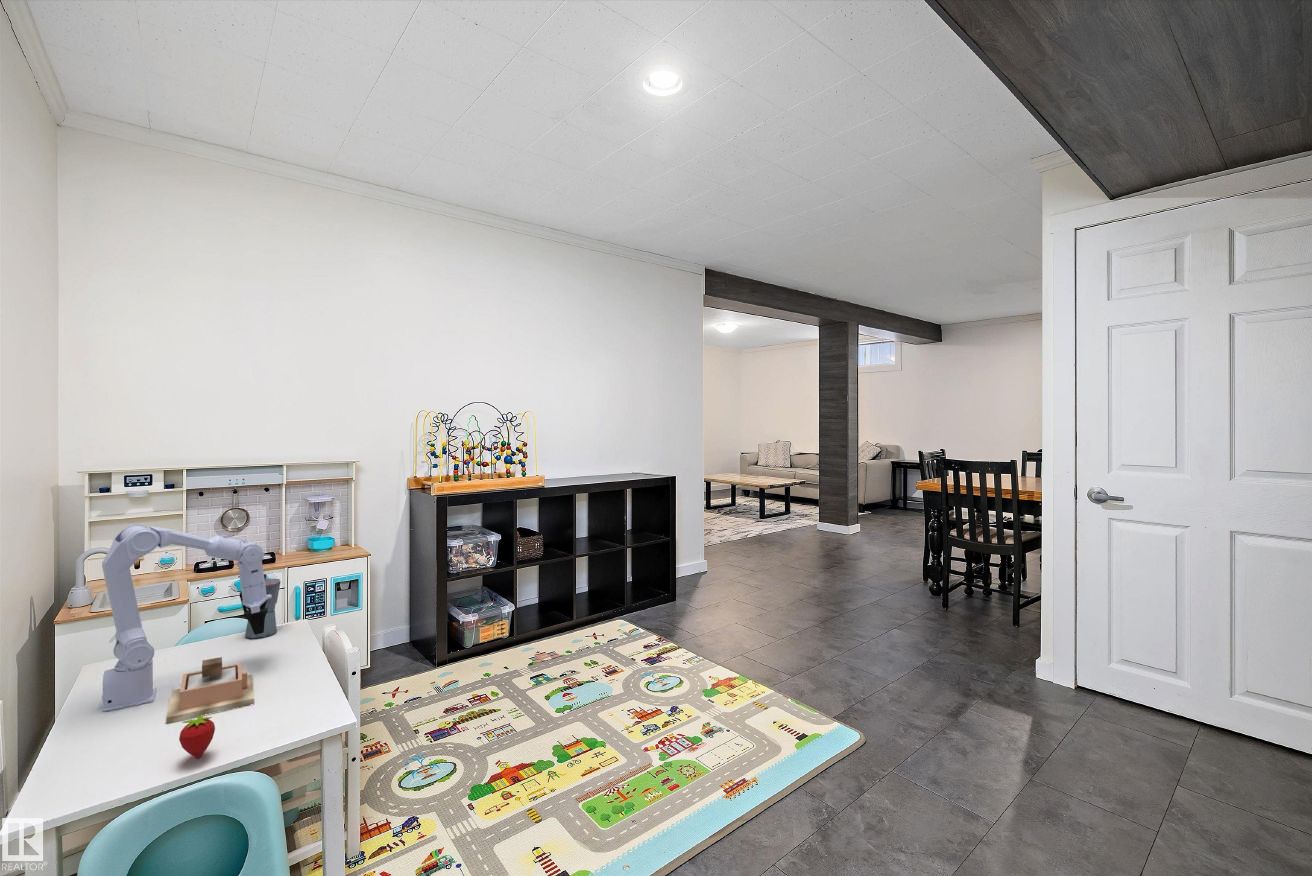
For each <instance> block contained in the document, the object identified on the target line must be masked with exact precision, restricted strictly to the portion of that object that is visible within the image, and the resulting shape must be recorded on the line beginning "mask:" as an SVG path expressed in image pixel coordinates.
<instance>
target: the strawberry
mask: <svg viewBox="0 0 1312 876" xmlns="http://www.w3.org/2000/svg"><path fill="white" fill-rule="evenodd" d="M194 713H195V712H194ZM195 714H197V713H195ZM197 715H198V714H197ZM196 718H197V719H187V720H182V721H181V723H183V724H185V723H186V725H185V726H184V727H183V728H182V730H181V731H180V733H179V738H178V740H179V743H180V746H181V748H182V749H183V750H184V751H186V753H188V754H189V755H191V756H193V757H194V759H201V757H202V756H203V755H204V754H205V752H206V750H207V749H208V747H209V746H210V744H211V742H212V740H213V738H214V735H215V731H216V725H215V723H214V721H213V720H211V719H212V718H213V716H210V717H207V716H206V717H205V715H202V716H200V717H196ZM187 723H188V724H187Z"/></svg>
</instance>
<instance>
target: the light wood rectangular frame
mask: <svg viewBox="0 0 1312 876" xmlns="http://www.w3.org/2000/svg"><path fill="white" fill-rule="evenodd" d="M253 681H254V680H253V675H252V674H247V687H243V688H242V697H241V698H236V699H231V700H227V701H222V702H218V703H213V704H209V705H204V706H199V707H195V708H190V709H186V710H181V711H180V689H181V688H178V689H171V693H170V698H169V703H168V707H167V712H166V717H165V718H166V719H165V720H166V723H165V724H166V725H169V724H172V723H178V722H183V721H187V720H190V719H189V718H191V719H195V718H198V716H201V715H204V716H206V715H205V714H209V713H213V712H217V713H219V712H218V711H222V712H224V711H223V710H226V711H228V710H227V709H231V710H234V709H233V708H235V709H238V708H237V707H239V708H243V707H242V706H244V707H247V706H252V705H251V704H253V705H255V693H254V683H253ZM194 712H195V713H197V714H198V715H197V714H195V713H194ZM213 714H214V713H213ZM209 715H210V714H209ZM194 717H195V718H194ZM176 721H177V722H176Z"/></svg>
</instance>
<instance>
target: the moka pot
mask: <svg viewBox="0 0 1312 876" xmlns="http://www.w3.org/2000/svg"><path fill="white" fill-rule="evenodd" d="M267 576H268V575H267V574H265V573H264V580H265V587H266V595H270V594H271V595H272V598H270V599H267V603H266V606H265V608H268V611H267V614H266V616H265V622H264V632H263V633H261V634H257V635H255V634H254V632H253V630H252V627H251V625H250V623H249V621H248V620H247V624H246V629H245V632H244V637H245V638H249V639H256V638H257V639H259V638H266V637H270V636H273V635H275V634H277V630H278V629H277V622H276V621H277V620H276V610H275V609H276V605H277V603H278V597H279V592H280V586H281V579H280V578H267ZM239 599H240V602H241V606H242V611H243V613H244V612H247V611H249V610H248V609H247V608H246V607H245V605H243V604H242V601H243V598H242V591H240V592H239Z"/></svg>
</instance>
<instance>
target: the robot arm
mask: <svg viewBox="0 0 1312 876" xmlns="http://www.w3.org/2000/svg"><path fill="white" fill-rule="evenodd" d="M170 545H171V546H172V545H175V546H180V547H187V548H192V549H196V550H197V549H198V550H203V551H204V552H205V555H206V556H207V557H211V558H216V559H221V560H227V561H233V562H234V561H236V562H237V564H238V565H237V566H238V576H239V581H240V589H241V591H242V598H243V601H242V603H241V605H242V604H243V605H245V607H246V608H247V610H249V611H247V612H244V611H243V615H244V617H245V618H246V620H247V622H248V621H249V623H250V625H251V627H252V630H253V632H254V634H255V635H257V634H261V633H263V632H264V622H265V616H266V614H267V611H268V608H265V606H266V603H267V599H270V598H272V595H271V594H270V595H266V587H265V580H264V574H265V573H264V572H265V571H264V567H263V566H264V565H263V559H264V557H265V551H263V548H262V547H261V546H260V545H258V544H257V543H256V544H255V543H253V542H249V541H248V540H246V539H240V540H239V539H234V538H231V537H229V536H228V535H227V534H221V535H214V536H211V537H209V538H207V537H203V536H200V535H194V534H191V533H188V532H183V531H179V530H177V529H172V528H167V527H158V526H152V525H151V526H149V525H148V527H147V526H145V525H143V524H131V525H128V526H126V527H125V528H123V529H122V530H121V531H120V532H118V534H116V535H115V536H114V537H113V540H112V544H111V545H110V547H109V549H108V551H107V553H106V554H105V557H104V558H103V561H102V562H101V563H102V565H101V567H102V573H103V576H104V581H105V585H106V590H107V594H108V599H109V603H110V604H109V605H110V608H111V613H112V618H113V623H114V627H115V635H114V636H115V644H114V647H113V650H112V652H113V655H114V657H115V658H116V659H118V661H116V664H115V665H114V668H111V669H106V670H104V671H103V676H102V696H101V697H102V698H101V699H102V710H101V711H102V712H108V711H113V710H119V709H123V708H128V707H133V706H137V705H142V704H146V703H152V702H154V700H155V696H156V693H157V688H155V687H154V676H153V675H154V672H153V671H154V668H153V666H154V663H153V662H154V661H153V658H154V657H155V648H154V647H153V646H152V645H151V644H150V643H149V641H148V639H147V636H146V633H145V630H144V628H143V626H142V621H141V617H140V611H139V606H138V601H137V598H136V597H137V596H136V592H135V587H134V582H133V579H132V578H133V577H132V573H131V567H132V566H133V565H134V564H135V563H137V562H138V560H140V558H142V557H144V556H146V555H148V554H149V553H151V552H153V551H154V550H156V548H157V547H158V548H160V549H163V548H165V547H167V546H170ZM241 591H240V592H241Z"/></svg>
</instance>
